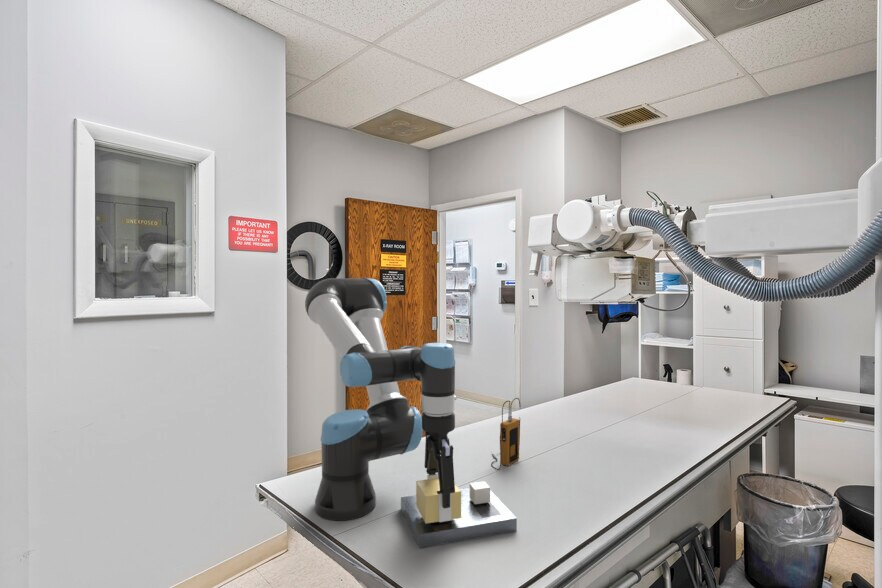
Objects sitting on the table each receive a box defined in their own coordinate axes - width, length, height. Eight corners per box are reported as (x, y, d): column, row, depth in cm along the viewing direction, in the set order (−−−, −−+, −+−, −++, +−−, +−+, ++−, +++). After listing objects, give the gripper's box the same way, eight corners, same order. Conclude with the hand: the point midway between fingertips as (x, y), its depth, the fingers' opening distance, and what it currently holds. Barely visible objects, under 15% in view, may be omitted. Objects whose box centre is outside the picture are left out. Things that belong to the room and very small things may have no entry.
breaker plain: (474, 504, 113) (474, 489, 113) (469, 497, 116) (469, 483, 116) (490, 501, 114) (490, 487, 114) (484, 495, 118) (484, 481, 117)
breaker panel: (419, 548, 101) (419, 534, 100) (401, 509, 118) (400, 497, 118) (516, 531, 107) (516, 518, 107) (486, 496, 125) (486, 484, 124)
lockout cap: (425, 523, 102) (425, 496, 102) (416, 506, 110) (416, 480, 110) (461, 517, 104) (461, 491, 104) (449, 501, 112) (449, 476, 112)
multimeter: (499, 449, 159) (499, 390, 158) (525, 456, 152) (525, 395, 151) (473, 462, 147) (473, 399, 146) (501, 471, 141) (501, 405, 140)
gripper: (470, 423, 97) (470, 531, 98) (440, 399, 118) (441, 489, 118) (435, 427, 95) (436, 537, 96) (411, 402, 115) (412, 493, 116)
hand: (439, 510), depth 107 cm, fingers closed on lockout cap, 8 cm apart
